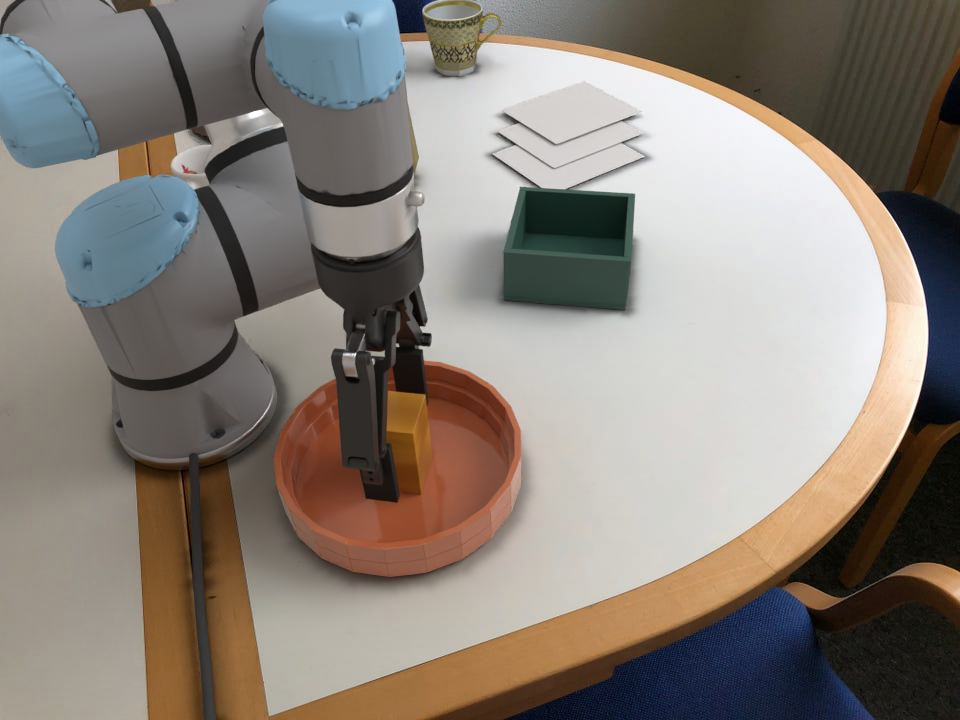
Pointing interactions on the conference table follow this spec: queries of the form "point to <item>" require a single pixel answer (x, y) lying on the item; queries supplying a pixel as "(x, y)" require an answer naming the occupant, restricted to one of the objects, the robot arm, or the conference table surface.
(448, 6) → the ceramic cup
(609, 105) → the paper stack
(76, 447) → the conference table surface
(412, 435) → the block
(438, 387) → the bowl
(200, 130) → the plate
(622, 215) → the bin
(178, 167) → the cup
